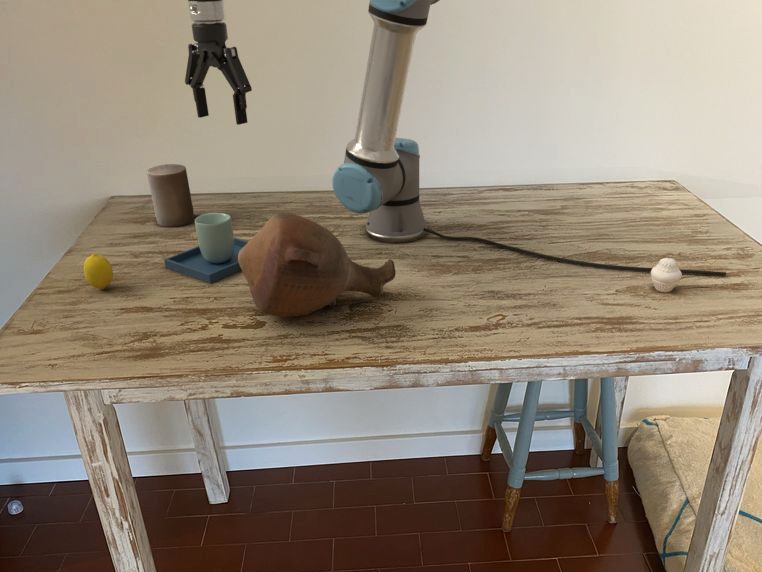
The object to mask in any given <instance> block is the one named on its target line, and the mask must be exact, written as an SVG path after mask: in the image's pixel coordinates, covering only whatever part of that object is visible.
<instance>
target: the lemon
mask: <svg viewBox="0 0 762 572" xmlns="http://www.w3.org/2000/svg"><path fill="white" fill-rule="evenodd" d="M83 275H84V279H85V280H86V282H87V283H88V285H90V286H92V287H93V288H98V289H100V290H105V288H106V287H108V286H109V285H110V284H111V283H112V281H113V279H114V270H113V266H112V263H110V261H109V259H108V258H107V257H105V256H103V255H102V254H97V253H92V254H91V255H89V256H87V258H86V259H85V260H84V262H83Z"/></svg>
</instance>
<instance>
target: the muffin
mask: <svg viewBox="0 0 762 572" xmlns="http://www.w3.org/2000/svg"><path fill="white" fill-rule="evenodd" d="M652 268H653V269H652V270H651V271H650V276H651V280H652V284H653V286H654V288H655V290H656V291H657V292H661V293H670V292H672V291H673V290H674V289H675V287H676V286H677V285H678V284H679V282H680V281H681V279H682V276H683V273H681V271H680V270H679V266H678V262H677V260H676V259H674V258H671V257H664V258H662V259H660V260H659V262H658V263H657V265H654V266H653V267H652Z"/></svg>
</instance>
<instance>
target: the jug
mask: <svg viewBox="0 0 762 572" xmlns="http://www.w3.org/2000/svg"><path fill="white" fill-rule="evenodd" d="M238 262H239V265H240V267H241V269H242V270H241V272H242V273H243V276H244V277H245V280H246V282H247V286H248V288H249V292H250V295H251V297H252V300H253V303H254V305H255V307H256V309H258V310H259V311H260V312H262V313H264V314H267V315H271V316H275V317H283V318H284V317H286V318H288V317H290V318H291V317H301V316H305V315H309V314H312V313H315V312H316V311H317V312H318V310H321V309H323V308H324V307H326V306H331V307H334V306H335V305H336V304H337V302H336V300H337V297H338V296H339V295H341V294H342V293H344V292H358V293H363V294H367V295H369V296H372V297H373V298H375V297H380V295H382V294H383V293H384V286H385V285H386V284H388V283H390V282H392V281H393V280H394V279H395V278H396V266H395V261H394V260H393V259H391V258H389V259H388V260H387V261H385V262H384V263H383V265H381V266H379V267H369V266H366V265H365V266H364V265H361V264H358V263H356V262H354V261H352V260H351V259H350V258H349V256H348V253H347V250H346V249H345V247H344V245H343V244H342V242H341V241H340V239H339V238H338V237H337V236H336V235H335V234H334V233H332V231H331V230H329V229H328V228H326V227H325V226H323V225H321V224H319V223H318V222H316V221H314V220H312V219H310V218H306V217H304V216H302V215H298V214H294V213H287V212H286V213H285V212H279V213H276V214H274V215H272V216H271V217H270V218H269V220H267V222H266V223H264V225H263V227H261V228H260V229H259V231H258V232H257V233H256V234H255V235H253V237H252V238H251V239H250V240H249V241H248V243H247V244H246V245H245V246H244V247H243V248H242V249H241V250H240V251H239V255H238Z"/></svg>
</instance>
